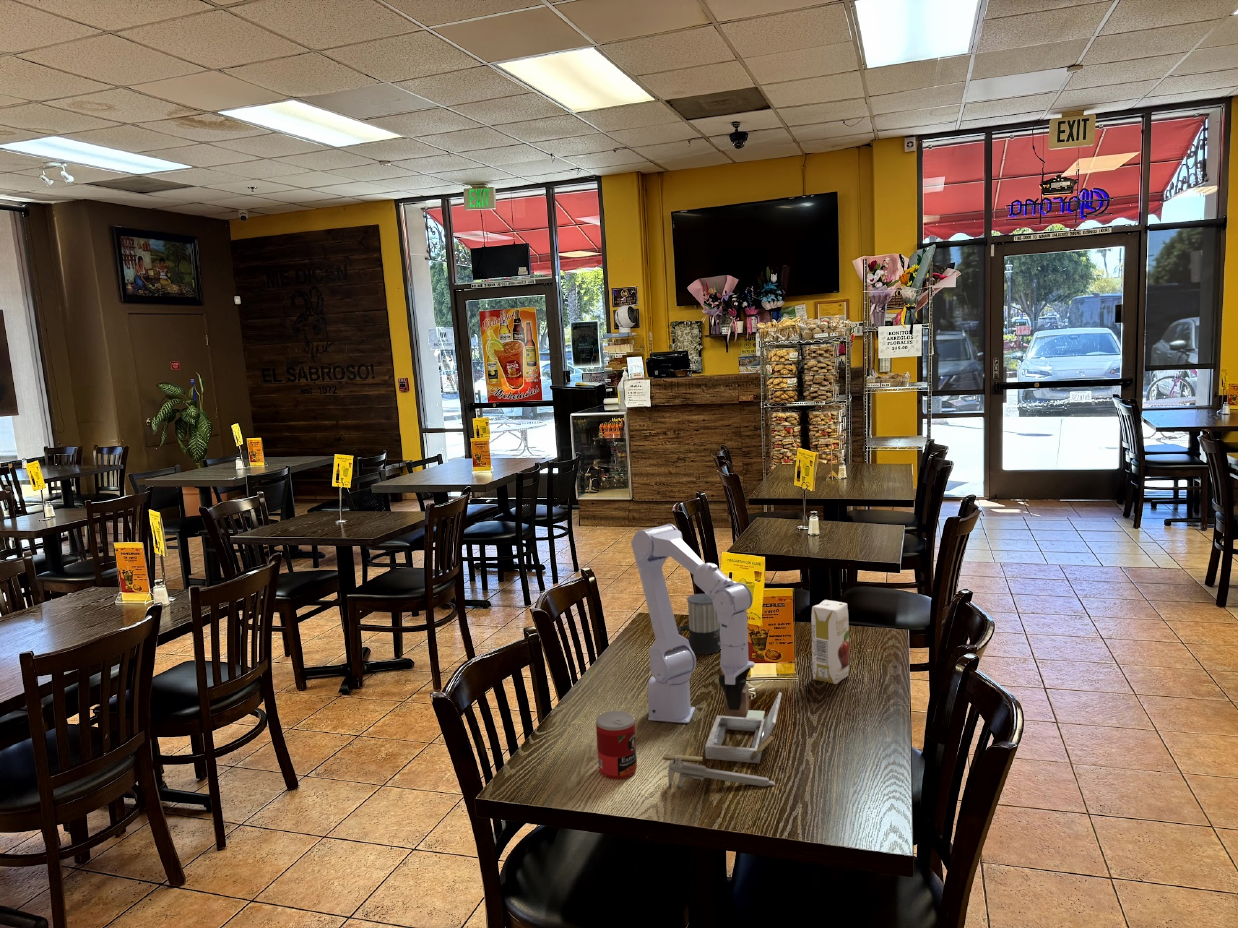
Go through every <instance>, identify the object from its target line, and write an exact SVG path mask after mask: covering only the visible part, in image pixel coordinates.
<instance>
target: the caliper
mask: <svg viewBox="0 0 1238 928" xmlns="http://www.w3.org/2000/svg"><path fill="white" fill-rule="evenodd" d="M682 761H683V760H682V758H681V757H680V758H679V759H678V760H677V759H676V756H675V757H674V759H673V760H670V763H669V764H668V770H667V776H668V778H667V779H668V780H667V781H668V787H669V788H672V787H673V782H674V777H675V774H679V777H678V782H677V788H678V789H680V788H679V787H681V788H682V786H683V785H684V783H685V780H686V779H687V777H688V778H689V777H690V778H691V779H693V780H695V781H698V780H699V781H701V782H703V781H704V780H705V779H711V780H712V779H714V780H719V781H725V782H730V783H731V782H732V783H737V784H744V785H751V786H757V787H769V786H771V787H776V782H774V780H769V777H766V776H765V777H764V776H758V775H753V774H747V773H740V772H734V771H733V772H732V771H726V770H722V769H721V770H720V769H713V768H708V767H706V765H703V764H702V765H701V764H697V763H690V762H682Z"/></svg>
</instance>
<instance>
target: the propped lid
mask: <svg viewBox="0 0 1238 928" xmlns="http://www.w3.org/2000/svg"><path fill="white" fill-rule="evenodd" d="M782 694H783V693H782V692H781V691H779V692H778V694H777V696H776V698H775V700H774V702H773V705H772V706H771V708H770V710H769V713H768V715H766V716H764V719H765V720H764V724H763V728H762V732H761V736H760V740H759V744H758V748H757V750H756V752H755V753H754V754H753V755H752V756H751V757H750V759H751V760H752V761H753V760H754V759H755V758H756V757H757V756H758V755H759V753H760V752H761V751H762V750H765V748H766V747H767V746H768V745H769V744H771V741H773V740H774V738H775V737H774V736H772V735H771V733H772V731H773V729H774V728H775V727H774V726H775V725H776V722H777V717H778V713H779V709H780V703H781V698H782ZM762 752H763V751H762Z"/></svg>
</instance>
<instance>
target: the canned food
mask: <svg viewBox="0 0 1238 928" xmlns="http://www.w3.org/2000/svg"><path fill="white" fill-rule="evenodd" d="M635 722H636V720H635V717H634V715H632V714H631V713H630V712H627V711H624V710H623V711H621V710H611V711H606V712H603V713H601V714H599V715H598V716H596V719H595V724H596V725H595V728H596V729H595V731H596V745H597V746H596V747H597V762H598V764H597V765H598V770H599V772H600V773H599V774H601V775H602V776H603V777H605V778H607V779H611V780H622V779H628V778H630V777H632V776H634V774H635V773H636V771H637V767H638V763H637V762H638V761H637V759H638V758H637V741H636V740H637V739H636V723H635Z"/></svg>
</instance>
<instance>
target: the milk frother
mask: <svg viewBox="0 0 1238 928" xmlns="http://www.w3.org/2000/svg"><path fill="white" fill-rule="evenodd" d="M686 601H687V608H688V610H687V611H688V613H687V614H688V625H681V626H677V630H678V634H679V635H681V636H682V633H683V632H685V631H687V632H689V633H688V634H689V636H688V637H686V639H688V641H689V644H690V647H691V649H692V651H693V652H694V654H700V655H710V654H711V653H712V654H715V653H714V652H716V653H718V652H720V651H721V650H720V649H721V647H720V623H719V622H718V620H717V612H716V610H715V608H714V606H713V601H712V599H711V598H710V597H709V596H708V595H707V594H706V593H695V594H692V595H690V596H688V597H687V598H686ZM719 650H720V651H719Z"/></svg>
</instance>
